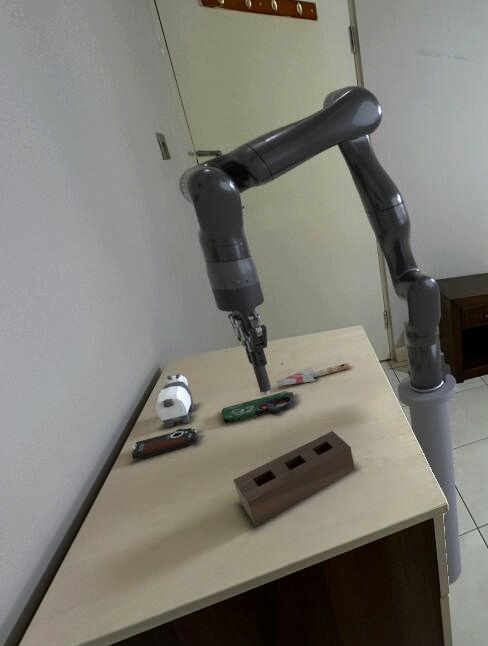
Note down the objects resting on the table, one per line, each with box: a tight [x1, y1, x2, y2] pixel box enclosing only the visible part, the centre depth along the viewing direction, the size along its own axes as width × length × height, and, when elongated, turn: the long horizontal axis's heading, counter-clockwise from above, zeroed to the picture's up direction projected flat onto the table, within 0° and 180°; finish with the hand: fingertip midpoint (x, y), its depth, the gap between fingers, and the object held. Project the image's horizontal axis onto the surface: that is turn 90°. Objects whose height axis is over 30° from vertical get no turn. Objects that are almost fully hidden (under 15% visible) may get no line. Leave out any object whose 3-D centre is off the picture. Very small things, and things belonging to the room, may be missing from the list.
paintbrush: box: [275, 362, 350, 387], centre depth 119 cm, size 4×3×20 cm
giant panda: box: [155, 373, 196, 428], centre depth 102 cm, size 15×6×10 cm, turn 29°
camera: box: [131, 427, 198, 460], centre depth 91 cm, size 6×3×11 cm
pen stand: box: [232, 430, 356, 528], centre depth 79 cm, size 8×19×6 cm, turn 139°
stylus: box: [246, 343, 272, 396], centre depth 80 cm, size 2×2×12 cm
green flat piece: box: [221, 390, 296, 424], centre depth 104 cm, size 16×1×10 cm
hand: (258, 363), depth 80 cm, fingers closed on stylus, 2 cm apart
